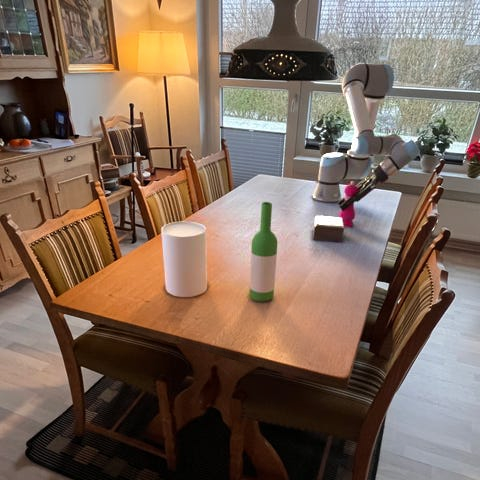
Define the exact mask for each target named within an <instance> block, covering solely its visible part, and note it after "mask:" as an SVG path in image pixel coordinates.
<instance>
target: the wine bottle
mask: <svg viewBox="0 0 480 480" xmlns="http://www.w3.org/2000/svg"><path fill="white" fill-rule="evenodd" d="M272 213H273V203H272V202H269V201H263V202H262V203H261V210H260V225H259V226H260V227H259V230H258V231H257V232H256V233H254V235H253V236H252V239H251V246H250V247H251V250H250V266H249V267H250V268H249V269H250V271H249V297H250V298H251V299H252V300H253V301H256V302H261V303H263V302H268V301H270V300H272V299H273V297H274V294H275V281H276V271H277V270H276V269H277V258H278V257H277V255H278V238H277V236H276V234H275V233H274V231H272V228H271V227H272Z"/></svg>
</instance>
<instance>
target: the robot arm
mask: <svg viewBox="0 0 480 480" xmlns="http://www.w3.org/2000/svg"><path fill="white" fill-rule="evenodd" d="M394 83H395V72H394V69H393V67H392V66H391V65H390V64H386V63H364V62H360V63H357V64H354V65H352V66H351V67H350V68H349V69H347V71H346V72H345V74H344V75H343V79H342V82H341V91H342V92H341V93H342V96H343V98H344V99H346V102H347V106H348V110H349V115H350V118H351V122H352V127H353V131H354V135H353V139H352V143H351V148H350V149H348V150H347V153H346V155H344V153H342V152H328V153H325V154H323V155H322V156H321V158H320V162H319V169H318V170H319V171H318V176H316V177H315V182H316V183H317V184H316V186H315V189H314V191H313V193H312V199H313V200H315V201H318V202H321V203H322V202H323V203H336V202H337V204H338V208H339V209H340V211H341V210H342V211H344V210H345V209H347V208H348V207H349V206H350V205H352V204H353V203H354V204H355V203H359V202H360V201H361V200H363V198H365V197H366V196H367V195H368V194H370V193H371V192H372V191H374V190H375V189H377V184H378V183H379V184H381V185H383V184H384V183H386V182H387V181H388V180H389V178H392V177H393V176H396V175H397V173H398V172H399V171H400V170H402V169H403V168H405V167H406V166H407V165H408V164H409V163H411V162H413V161H414V159H416V158H417V157H418V156H419V155H420V153H421V150H420V148H419V145H417V144H416V142H415V141H414V140H412V139H408V140H407V141H405V140H404V139H403V138H402V137H401V136H400V135H399V134H397V133H395V132H389V133H387V134H385V135H377V136H376V135H375V133H374V127H375V124H376V121H377V116H378V112H379V108H380V104H381V101H383V100H384V99H385V98H386V94H388V93H390V92H391V91H392V89H393V87H394ZM370 155H371V156H372V155H373V156H374V155H376V156H377V155H378V156H387V157H386V158H385V159H383V160H382V161H381V162H380V163H379V165H377V166H376V167H374V168H372V163H373V162H372V157H371V156H370ZM371 169H372V170H371ZM370 172H372V175H370V176H368V175H369V173H370ZM361 179H362V180H361ZM341 180H361V181H360V182H358V183H357V184H355V185H356V186H357V187H358V192H357V193H356V194H355V195H354V196H352V195H351V197H350V198H349V199H348V200H347V201H345V199H344V197H343V198H342V192H341V188H340V183H341Z"/></svg>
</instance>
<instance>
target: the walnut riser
mask: <svg viewBox="0 0 480 480" xmlns="http://www.w3.org/2000/svg"><path fill="white" fill-rule="evenodd" d="M312 232H313V234H312V235H313V236H312V240H313V241H320V242H321V241H322V242H331V243H343V238H344V233H345V227H344V224H343V219H342V218H340V217H339V216H325V215H316V216H315V217H314V223H313V231H312Z"/></svg>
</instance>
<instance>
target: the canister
mask: <svg viewBox="0 0 480 480" xmlns="http://www.w3.org/2000/svg"><path fill="white" fill-rule="evenodd" d="M160 232H161V243H162V256H163V269H164V281H165V290H166V292H167V293H168V294H170V295H172V296H175V297H179V298H192V297H196V296H200V295H202V294H203V293H205V292H206V291H207V290H208V261H207V260H208V255H207V253H208V251H207V250H208V249H207V227H206V226H205V225H204V224H202V223H200V222H195V221H188V220H184V221H181V220H180V221H173V222H169V223H166V224H164V225H163V226H162V227H161V231H160Z"/></svg>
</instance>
